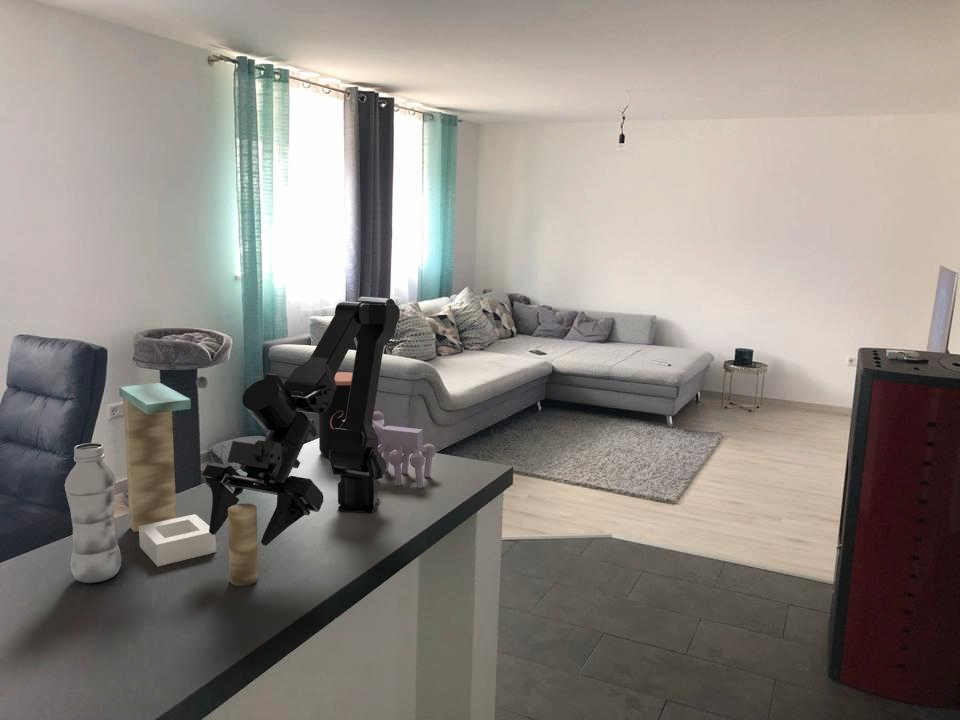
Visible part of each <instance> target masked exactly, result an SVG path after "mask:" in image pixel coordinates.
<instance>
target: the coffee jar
mask: <svg viewBox="0 0 960 720" xmlns="http://www.w3.org/2000/svg"><path fill="white" fill-rule="evenodd" d="M352 374H353V372H351V371H349V372H348V371H346V372H345V371H340V372H338V371H337V373H336V375H335V384H336V391H335V394H334V396H333V399H332V402H331V404H330V406H329V408H328V409H327V411H326V412H325V413H321V414H318V430H319V431H318V435H319V436H318V438H319V439H318V441H319V442H318V443H319V444H318V445H319V446H318V447H319V451H320V453H321V454H322V456H323V457H324V458H325V459H329V447H330V444H331V438H332V431H333V430H334V428H339V427H340V426H341V425H342V423H343V421H342V420H345V418H346V412H347V406H348V399H349V393H350V387H351V380H352Z"/></svg>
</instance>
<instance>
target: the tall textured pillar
mask: <svg viewBox="0 0 960 720" xmlns="http://www.w3.org/2000/svg"><path fill="white" fill-rule="evenodd" d="M118 390H119V391H118V392H119V395H118V396H119V397H120V398H122V406H123V423H124V424H123V425H124V443H125V446H124V447H125V461H126V479H127V483H126V484H127V498H128V513H129V515H128V516H129V517H128V518H129V528H130V529H131V530H132V532H134V533H137V532H139V526H142V525H146V524H151V523H156V522H161V521H165V520H170V519H175V518H177V503H176V502H177V500H176V499H177V497H176V496H177V495H176V482H175V479H176V478H175V477H176V476H175V452H174V431H173V430H174V429H173V412H175V411H176V412H177V411H183V410H185V411H186V410H191V409H192V405H191V404H192V402H191V400H192V399H191V398H189V397H187V396H186V395H183V394H182V393H180V392H178V391H176V390H174V389H172V388H170V387H168V386H167V385H165V384H163V383H161V382H154V383H143V384H135V385H133V384H132V385H126V386H119V387H118Z"/></svg>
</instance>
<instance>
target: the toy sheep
mask: <svg viewBox="0 0 960 720" xmlns="http://www.w3.org/2000/svg"><path fill="white" fill-rule="evenodd" d="M342 421H343V422H344V421H345V420H342ZM384 424H385V416H384V414H383V413H382V412H381V411H378V410H376V411H374V414H373V421H372V425H373V428H374V430H375V432H376V435H377V437H378V451H379V453H380V454H381V456H382V455H383V456H382V457H383V459H384V460H385V461H386V463H387V464H386V471H385V473H386V472H389V466H390V465H391V466H393V472H394V482H395V483H394V484H395V486H397V485H399V486H402V485H403V478H402V474H404V475H408V472H409V466H411V467H412V468H414V473H415V486H416V488H417V487H418V488H417V489H421V488H423V487H424V480H423V477H424V478H431V473H432V472H431V471H432V464H433V463H432V462H433V457H434V456H435V455H436V452H437V451H436V446H434V445H433V444H432V443H426V444H424V435H423V434H424V430H423V428H421V429H420V428H415V427H414V428H412V427H404V426H394V425H386V426H384ZM423 444H424V445H423ZM420 452H421V453H420ZM389 464H390V465H389ZM409 464H410V465H409ZM423 467H424V470H423ZM379 481H380V479H377V483H378V482H379Z"/></svg>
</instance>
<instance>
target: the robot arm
mask: <svg viewBox="0 0 960 720" xmlns="http://www.w3.org/2000/svg"><path fill="white" fill-rule="evenodd" d="M400 315H401V312H400V307H399V305H397V303H396V302H395V300H394V299H393V298H384V297H373V296H360V297H359V298H358V299H357V300H355V301H345V300H343V301H341V302H338V303H337V304H336V306H335V309H334V315H333V317H332V319H331V321H330V322H329V324H328V325H327V327H326V329H325V331H324V332H323V333H322V336H321V338H320V340H319V341H318V344H317V345H316V347H315V348H314V350H313V352H312V353H311V356H310V357H309V358H308V359H307V361H305V362H304V363H302V364H300V365H299V366H297V367H296V368H294V369H293V371H292V372H291V373H290V374H289V376H288V377H287V378H286V380H285V381H284V383H283V381H282V378H281V377H280V376H279V374H274V373H266V374H265V376H264V378H263V379H260V380H258V381H256V382H254V383H252V384H251V385H250V386H249V387H248V388H246V389H245V390H244V393H243V395H242V405H243V406H244V407H245V409H246V410H247V411H248V413H249V414H250V415H252V417H253V418H254V419H255V420H256V422H257V423H258V424H259V425H260V426H261V427H262V428H263V429H264V430H266V431H268V432H267V434H266V436H265V438H264V440H261V439H260V440H257V441H255V443H249V442H243V441H236V440H232V441H231V445H230V450H229V453H228V457H227V459H226V462H227V463H229V464H230V465H229V464H224V463H218V462H210V463H209V464H206V466H205V467H204V469H203V471H202V473H201V475H200V477H201V479H203V480H204V482H205V484H206V486H208V488H210V490H211V495H212V497H211V498H212V503H211V504H212V505H211V513H210V521H209V526H210V527H209V532H210V533H211V534H212V535H215V534H217V533H218V531H219V530H220V529H221V527H222V526H223V525H224V523H225V522H226V520H228V508H229V507H231V506H233V505H236V504H239V502H240V499H239V498H238V497H237V496H239V495H240V494H241V495H242V493H243V491H244V490H246V491H253V492H258V493H262V494H263V493H264V494H268V495H274V496H277V497H276V507H275V509H274V511H273V513H272V516H271V518H269V522H268V524H267V526H266V528H265V530H264V531H263V535H262V539H261V541H260V543H261V545H263V546H265V547H266V546H268V545H270V543H271V542H273V541H274V540H275V539H276V538H277V537H278V536H280V535H281V534H282V533H283V532H284V531H285V530H287V528H289V527H290V526H291V525H293V524H294V523H296V522H297V521H298V520H300V519H301V518H302V517H304V516H310V514H311V512H314V513H318V512H320V510H321V508H322V505H323V503H324V494H323V492H322V491H321V489H320V488H319V487H318V486H317V485H316V484H315V482H314V481H313V480H312V479H311V478H307V477H301V476H295V475H290V474H291V472H292V470H293V468H294V469H299V467H300V464H301V462H300V460H299V459H298V457H299V455H300V453H301V451H302V449H303V447H304V446H305V445H304V444H305V442H306V440H307V437H314V438H315V437H316V436H317V428H316V426H315V422H314V419H312V418H309V417H307V416H306V414H305V413H308V414H316V415H319V414H321V413H325V412H326V411H327V409H328V408H329V406H330V404H331V402H332V399H333V396H334V394H335V391H336V384H335V375H336V373H337V372H338V371H339V369H340V367H341V365H342V363H343V361H344V360H345V357H346V355H347V354H348V351H349V350H350V348H351V346H352V345H353V343H354V341H355V340H356V350H355V357H354V363H353V369H352V373H353V374H352V380H351V387H350V393H349V399H348V406H347V412H346V418H345V421H344V422H343V423H342V425H341V426H340V427H339V428H334V430H333V431H332V438H331V444H330V447H329V458H328V460H329V463H330V467H331V470H332V475H334V476H340V481H339V482H338V483H337V504H338V507H337V511H339V512H354V513H367V514H371V513H373V512H374V511H375V509H376V508H377V506H378V505H379V503H380V501H381V500H380V498H378V482H377V479H379V480H381V479H384V475H385V474H386V464H387V463H386V461H385V460H384V459H383V456H381V454H380V453H379V451H378V448H379V446H378V437H377V435H376V432H375V430H374V428H373V425H372V421H373V414H374V412H375V407H376V401H377V393H378V387H379V382H380V381H379V380H380V374H381V367H382V360H383V356H384V355H383V354H384V348H385V346H386V345H387V344H388V342H389V341H390V340H391V339H392V338H393V337H394V336H395V334H396V329H397V324H398V322H399V320H400ZM233 463H235V464H238V465H240V467H239V469H240V470H241V471H242V472H244V473H246V475H241V474H240V473H239V472H238V471H237V470H236V469H234V467H233V466H232V465H231V464H233Z"/></svg>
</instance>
